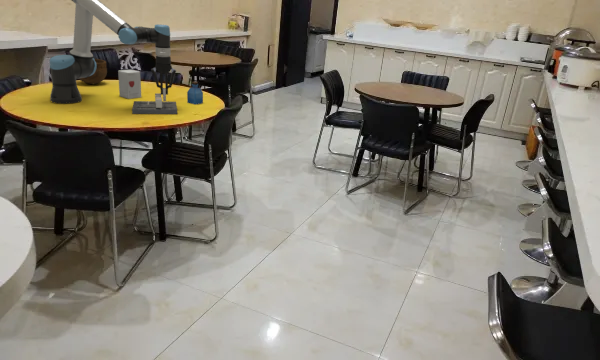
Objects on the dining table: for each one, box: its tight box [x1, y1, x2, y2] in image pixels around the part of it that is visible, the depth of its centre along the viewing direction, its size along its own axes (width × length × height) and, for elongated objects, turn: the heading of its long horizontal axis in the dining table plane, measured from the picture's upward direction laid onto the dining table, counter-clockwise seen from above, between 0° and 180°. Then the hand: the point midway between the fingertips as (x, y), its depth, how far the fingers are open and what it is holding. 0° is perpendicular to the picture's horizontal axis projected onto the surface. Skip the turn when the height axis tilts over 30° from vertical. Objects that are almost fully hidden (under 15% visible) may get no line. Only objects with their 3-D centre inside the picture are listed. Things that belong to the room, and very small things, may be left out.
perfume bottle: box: [186, 81, 204, 105], centre depth 263 cm, size 6×6×12 cm
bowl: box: [78, 58, 108, 85], centre depth 291 cm, size 19×19×15 cm
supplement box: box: [117, 69, 142, 100], centre depth 265 cm, size 9×9×15 cm
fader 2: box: [156, 96, 163, 108], centre depth 237 cm, size 3×5×5 cm, turn 16°
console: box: [131, 100, 178, 115], centre depth 243 cm, size 22×19×2 cm
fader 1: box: [154, 92, 162, 103], centre depth 246 cm, size 3×5×4 cm, turn 16°
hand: (164, 100), depth 248 cm, fingers closed
